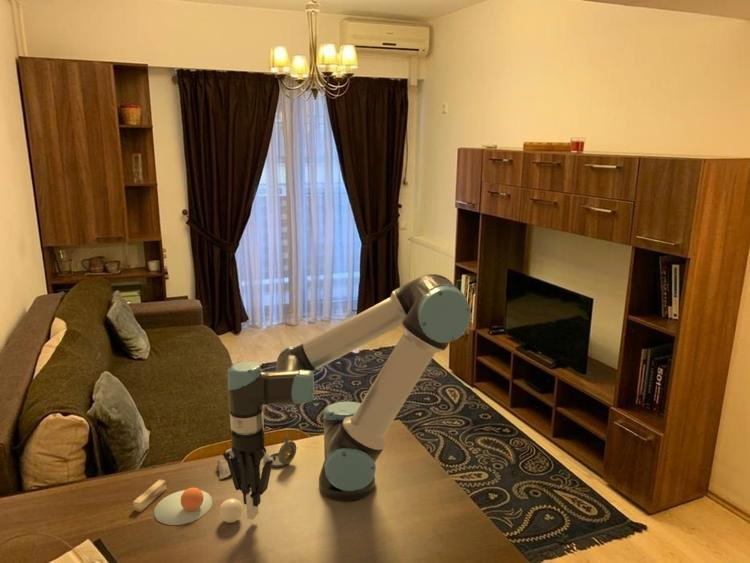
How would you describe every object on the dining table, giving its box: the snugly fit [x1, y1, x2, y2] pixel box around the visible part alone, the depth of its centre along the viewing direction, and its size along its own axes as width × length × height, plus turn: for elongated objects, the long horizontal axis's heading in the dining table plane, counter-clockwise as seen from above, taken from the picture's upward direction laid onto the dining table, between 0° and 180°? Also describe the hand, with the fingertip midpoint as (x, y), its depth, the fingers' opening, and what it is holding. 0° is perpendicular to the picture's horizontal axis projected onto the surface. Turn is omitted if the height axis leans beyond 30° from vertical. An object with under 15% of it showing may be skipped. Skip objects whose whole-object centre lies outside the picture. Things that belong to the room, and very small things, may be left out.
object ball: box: [181, 487, 203, 511], centre depth 140 cm, size 6×6×6 cm
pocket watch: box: [269, 433, 297, 468], centre depth 159 cm, size 8×8×10 cm
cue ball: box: [219, 498, 244, 524], centre depth 136 cm, size 6×6×6 cm
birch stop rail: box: [132, 479, 168, 513], centre depth 144 cm, size 10×2×2 cm, turn 162°
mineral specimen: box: [215, 457, 239, 480], centre depth 158 cm, size 6×12×4 cm, turn 128°
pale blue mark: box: [153, 489, 213, 526], centre depth 141 cm, size 14×14×1 cm
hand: (252, 515), depth 135 cm, fingers closed
